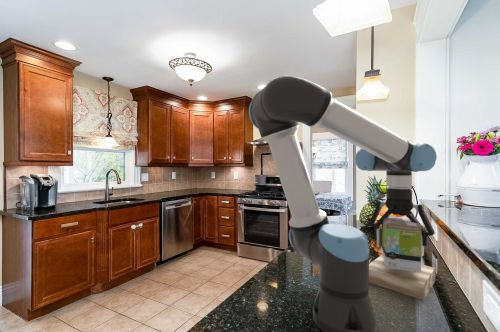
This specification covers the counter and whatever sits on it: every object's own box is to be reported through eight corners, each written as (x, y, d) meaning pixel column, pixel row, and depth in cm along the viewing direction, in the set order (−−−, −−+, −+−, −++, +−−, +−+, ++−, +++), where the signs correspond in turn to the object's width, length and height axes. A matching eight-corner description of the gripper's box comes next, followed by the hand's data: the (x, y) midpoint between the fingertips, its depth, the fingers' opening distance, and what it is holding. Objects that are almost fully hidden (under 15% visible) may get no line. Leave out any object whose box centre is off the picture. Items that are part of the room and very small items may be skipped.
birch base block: (423, 301, 72) (423, 284, 72) (364, 282, 84) (364, 267, 84) (435, 282, 84) (435, 267, 84) (381, 267, 96) (381, 255, 96)
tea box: (422, 273, 75) (422, 225, 75) (385, 268, 79) (385, 222, 79) (411, 257, 89) (411, 216, 89) (380, 253, 93) (380, 214, 93)
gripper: (445, 189, 78) (446, 257, 78) (366, 185, 95) (366, 240, 95) (441, 191, 73) (441, 263, 72) (358, 186, 90) (358, 244, 90)
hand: (399, 250), depth 84 cm, fingers closed on tea box, 12 cm apart
